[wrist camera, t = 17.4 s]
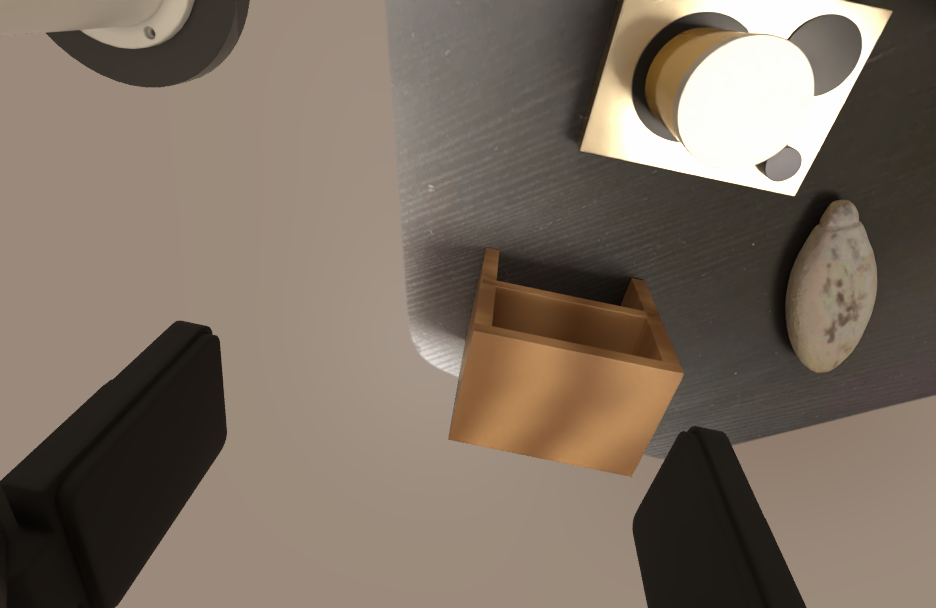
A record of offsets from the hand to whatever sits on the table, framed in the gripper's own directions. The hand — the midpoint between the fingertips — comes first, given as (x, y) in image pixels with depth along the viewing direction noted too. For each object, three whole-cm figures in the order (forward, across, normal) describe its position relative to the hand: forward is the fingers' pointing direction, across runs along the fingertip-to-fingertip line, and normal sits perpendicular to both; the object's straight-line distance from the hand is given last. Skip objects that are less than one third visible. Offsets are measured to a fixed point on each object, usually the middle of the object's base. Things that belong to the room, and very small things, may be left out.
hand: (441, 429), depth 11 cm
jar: (+31, -12, -5) cm, 33 cm away
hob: (+33, -14, -5) cm, 36 cm away
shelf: (+33, -8, +16) cm, 38 cm away
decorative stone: (+34, -29, +8) cm, 45 cm away
